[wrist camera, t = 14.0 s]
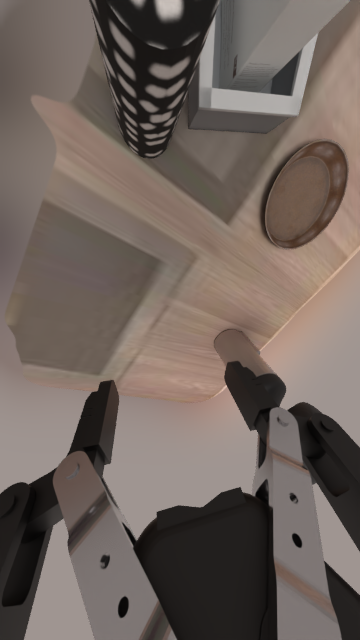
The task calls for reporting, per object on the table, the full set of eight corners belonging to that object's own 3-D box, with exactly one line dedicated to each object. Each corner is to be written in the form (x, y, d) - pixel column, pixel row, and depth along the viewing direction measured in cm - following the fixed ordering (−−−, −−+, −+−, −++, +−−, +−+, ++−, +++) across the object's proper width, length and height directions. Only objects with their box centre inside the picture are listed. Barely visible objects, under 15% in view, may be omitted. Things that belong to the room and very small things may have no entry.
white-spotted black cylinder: (182, 112, 25) (271, -120, 8) (156, 171, 27) (180, 94, 11) (131, 53, 21) (92, -608, 4) (107, 128, 24) (28, -90, 7)
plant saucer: (305, 251, 41) (316, 253, 39) (246, 243, 37) (253, 244, 35) (350, 158, 33) (368, 153, 30) (278, 134, 28) (292, 125, 26)
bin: (298, -33, 20) (355, -126, 15) (267, 136, 28) (298, 115, 22) (185, -61, 18) (205, -183, 12) (186, 131, 26) (198, 107, 20)
